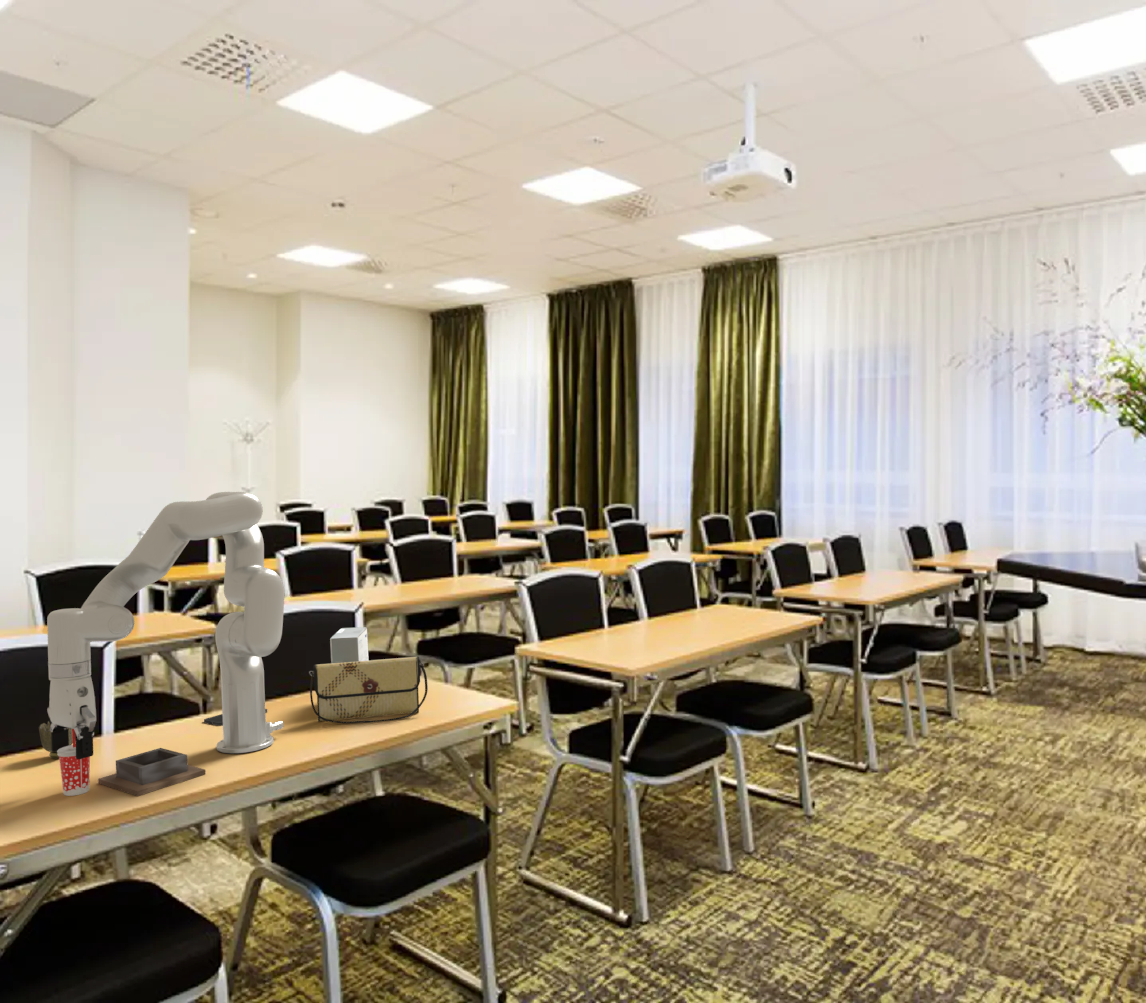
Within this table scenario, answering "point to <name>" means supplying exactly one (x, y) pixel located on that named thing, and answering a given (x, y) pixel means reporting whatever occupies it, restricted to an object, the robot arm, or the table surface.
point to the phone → (217, 720)
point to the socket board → (150, 772)
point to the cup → (46, 739)
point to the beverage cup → (73, 770)
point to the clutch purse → (367, 689)
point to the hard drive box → (349, 645)
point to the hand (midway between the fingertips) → (72, 753)
